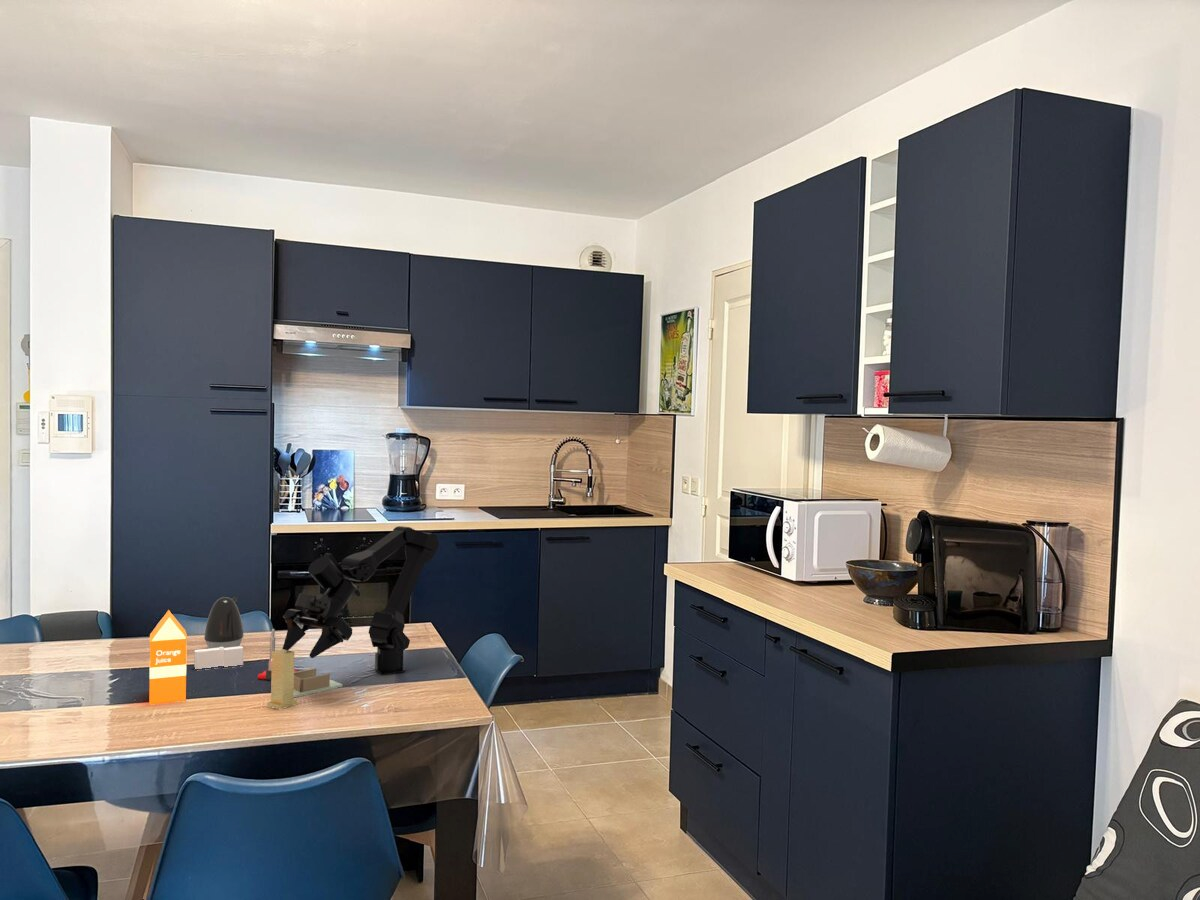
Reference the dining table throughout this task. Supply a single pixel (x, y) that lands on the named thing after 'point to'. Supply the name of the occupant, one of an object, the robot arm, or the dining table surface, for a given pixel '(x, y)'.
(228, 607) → the black rounded cone
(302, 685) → the pale green slotted base
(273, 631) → the tow hook
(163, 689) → the orange juice
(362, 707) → the dining table surface
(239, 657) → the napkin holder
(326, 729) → the dining table surface
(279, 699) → the gold square pillar
